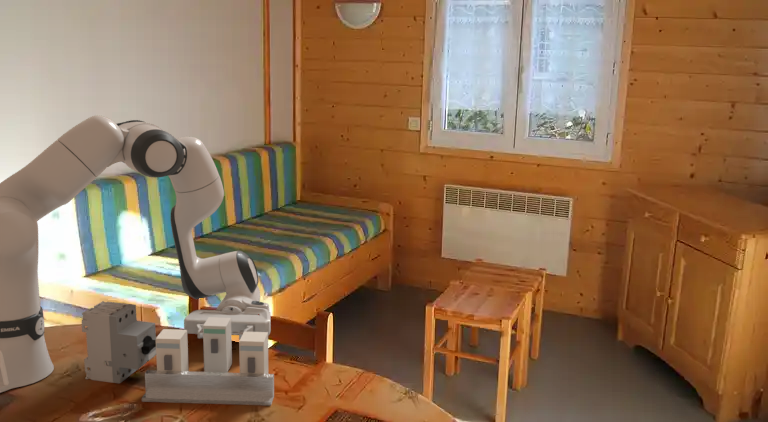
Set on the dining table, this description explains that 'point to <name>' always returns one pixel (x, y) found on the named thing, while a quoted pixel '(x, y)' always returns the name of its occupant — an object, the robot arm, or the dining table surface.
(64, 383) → the dining table surface
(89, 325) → the circuit breaker
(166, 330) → the module left
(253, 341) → the module right
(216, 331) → the loose module
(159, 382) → the rail
